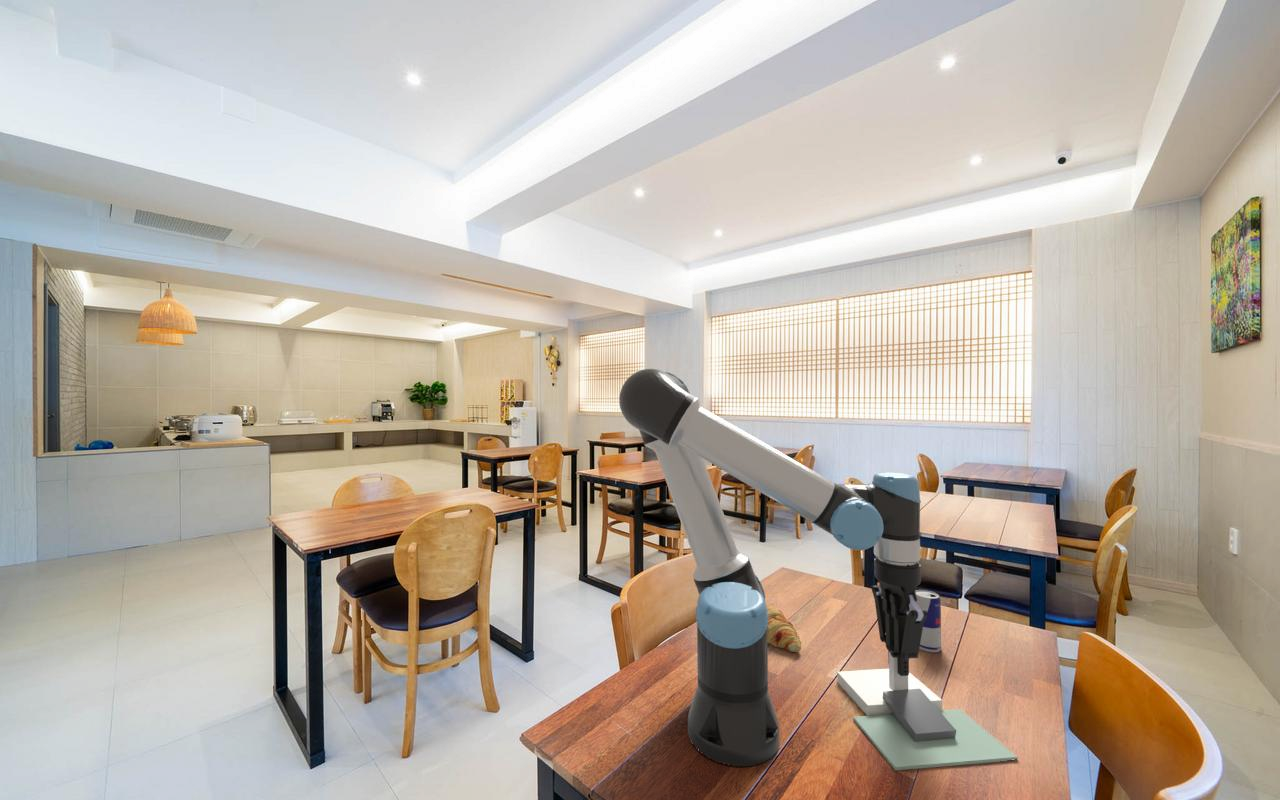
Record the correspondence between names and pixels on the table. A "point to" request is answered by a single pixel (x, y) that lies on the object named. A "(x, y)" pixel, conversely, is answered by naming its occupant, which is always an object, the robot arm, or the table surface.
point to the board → (877, 689)
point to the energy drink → (930, 620)
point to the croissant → (781, 631)
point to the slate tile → (919, 715)
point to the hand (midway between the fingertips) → (898, 689)
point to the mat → (933, 743)
